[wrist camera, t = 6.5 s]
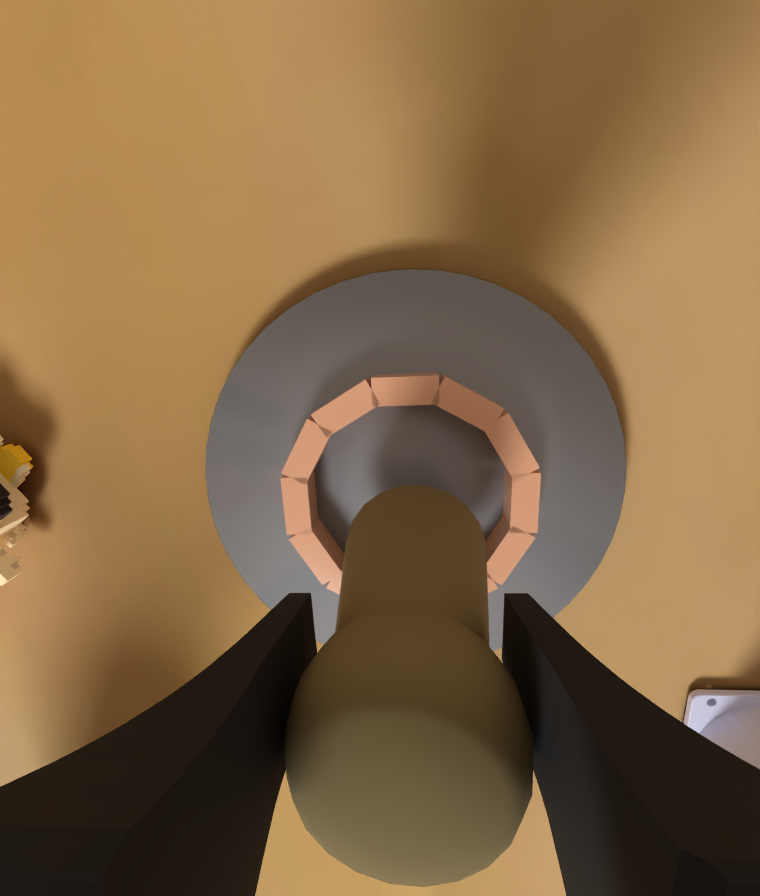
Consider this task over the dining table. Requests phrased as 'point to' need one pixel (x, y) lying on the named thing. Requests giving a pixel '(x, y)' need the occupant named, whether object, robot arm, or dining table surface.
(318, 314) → the ring platter
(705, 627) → the dining table surface
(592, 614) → the dining table surface
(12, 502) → the cream toy figure
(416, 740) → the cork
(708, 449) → the dining table surface
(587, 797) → the robot arm
